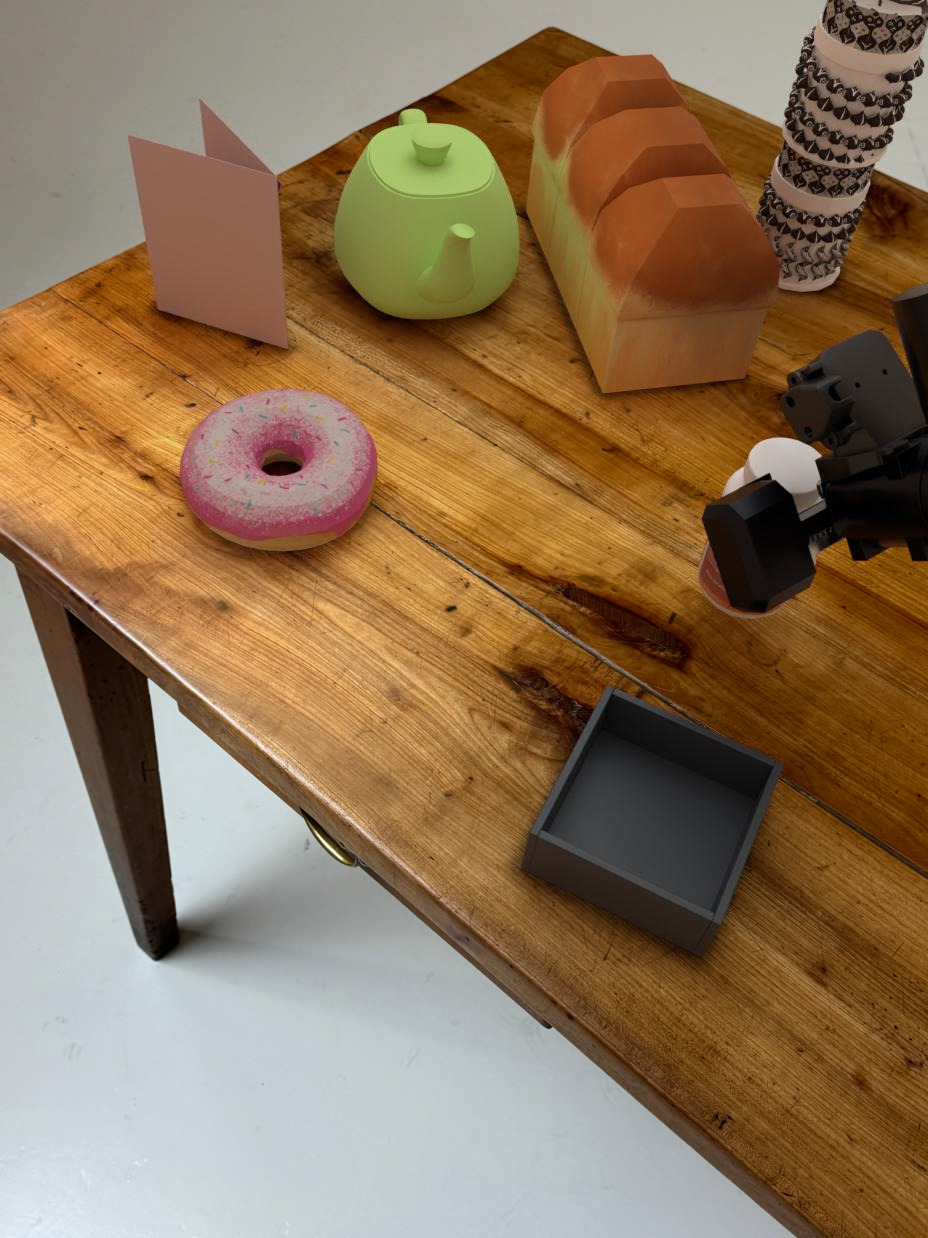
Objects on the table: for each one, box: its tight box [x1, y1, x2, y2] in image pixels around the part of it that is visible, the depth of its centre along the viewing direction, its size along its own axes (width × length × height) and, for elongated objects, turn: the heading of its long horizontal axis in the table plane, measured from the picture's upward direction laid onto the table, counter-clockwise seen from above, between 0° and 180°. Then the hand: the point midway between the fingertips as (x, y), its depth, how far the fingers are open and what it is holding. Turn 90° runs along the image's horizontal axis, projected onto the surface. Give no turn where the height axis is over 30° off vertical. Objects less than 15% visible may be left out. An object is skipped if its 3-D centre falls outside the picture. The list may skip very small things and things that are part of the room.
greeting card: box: [127, 96, 289, 350], centre depth 87 cm, size 11×7×15 cm, turn 35°
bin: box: [520, 684, 785, 958], centre depth 67 cm, size 11×11×4 cm
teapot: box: [333, 108, 521, 320], centre depth 92 cm, size 22×15×13 cm
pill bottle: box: [696, 437, 824, 620], centre depth 73 cm, size 6×6×11 cm
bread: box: [525, 53, 780, 394], centre depth 93 cm, size 25×12×15 cm, turn 13°
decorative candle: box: [754, 0, 928, 293], centre depth 93 cm, size 9×9×25 cm
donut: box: [179, 388, 378, 552], centre depth 81 cm, size 14×13×5 cm
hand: (753, 502), depth 72 cm, fingers closed on pill bottle, 6 cm apart
